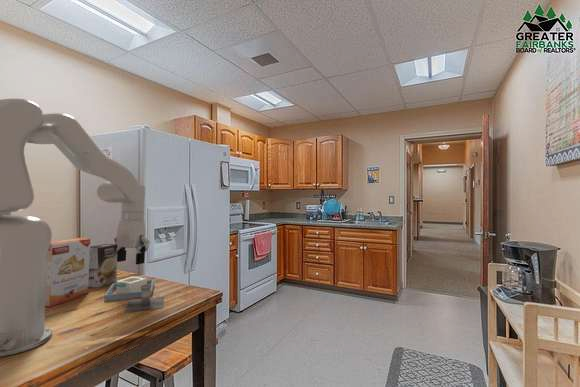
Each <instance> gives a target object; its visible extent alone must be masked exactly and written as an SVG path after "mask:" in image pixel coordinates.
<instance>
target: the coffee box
mask: <svg viewBox="0 0 580 387" xmlns="http://www.w3.org/2000/svg"><path fill="white" fill-rule="evenodd" d="M116 249H117V248H116V246H115V243H114V244H113V243H104V244H98V245H92V246H91V245H90V256H89V279H88V288H89V287H90V288H97V289H98V288H101V287H104V286H107V285H110V284H113V283H116V281H118V280H117V278H118V275H117V274H118V262H117V250H116Z"/></svg>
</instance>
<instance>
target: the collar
mask: <svg viewBox="0 0 580 387" xmlns="http://www.w3.org/2000/svg"><path fill="white" fill-rule="evenodd" d="M147 280H148V279H147V277H140V276H129V277H127V278H123V279H119V280H117V281H116V282H115V283H116V290H115V294H118V293H127V292H137V291H142V289H141V286H142V285H147Z"/></svg>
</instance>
